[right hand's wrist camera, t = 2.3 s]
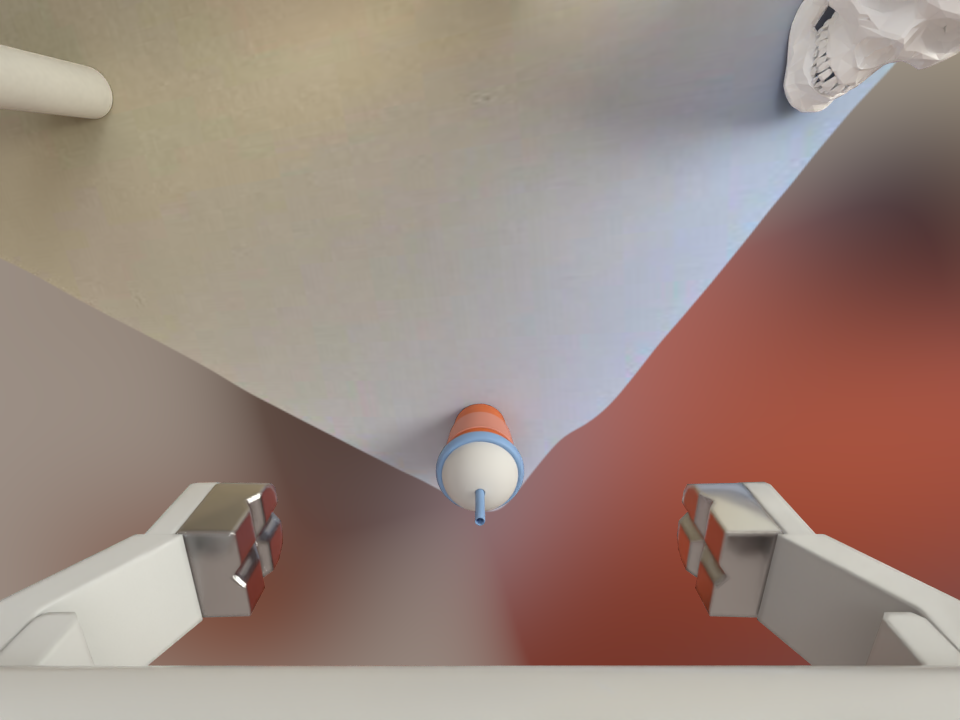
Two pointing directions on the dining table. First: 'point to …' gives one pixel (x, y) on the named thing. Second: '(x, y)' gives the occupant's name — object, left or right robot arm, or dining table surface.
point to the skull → (864, 44)
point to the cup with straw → (479, 462)
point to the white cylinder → (51, 85)
